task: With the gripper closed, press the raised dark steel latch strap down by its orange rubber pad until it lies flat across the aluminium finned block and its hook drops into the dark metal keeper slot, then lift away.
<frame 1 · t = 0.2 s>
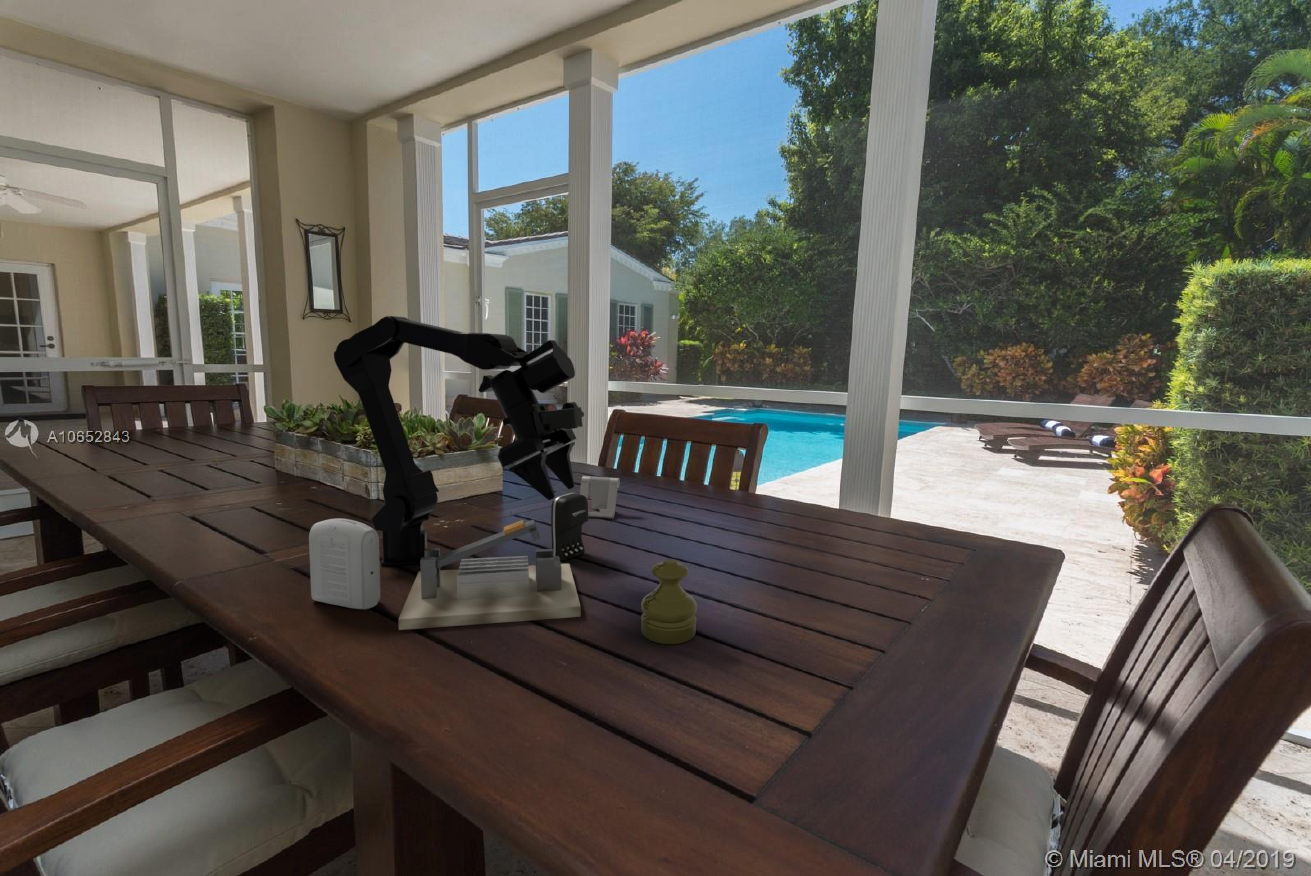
hand: (562, 493, 98), 14 cm above the table, tool tilted 30°, fingers open, 9 cm apart
finned block: (494, 576, 92), on the base board, point 3 cm above the table
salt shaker: (668, 634, 82), on the table
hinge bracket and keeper: (493, 569, 92), on the base board, point 4 cm above the table
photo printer: (346, 603, 89), on the table
base board: (494, 597, 92), on the table
portable electronic device stand: (598, 514, 142), on the table
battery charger: (570, 557, 112), on the table
latch strap: (482, 547, 91), point 8 cm above the table, hinge at 20.0°
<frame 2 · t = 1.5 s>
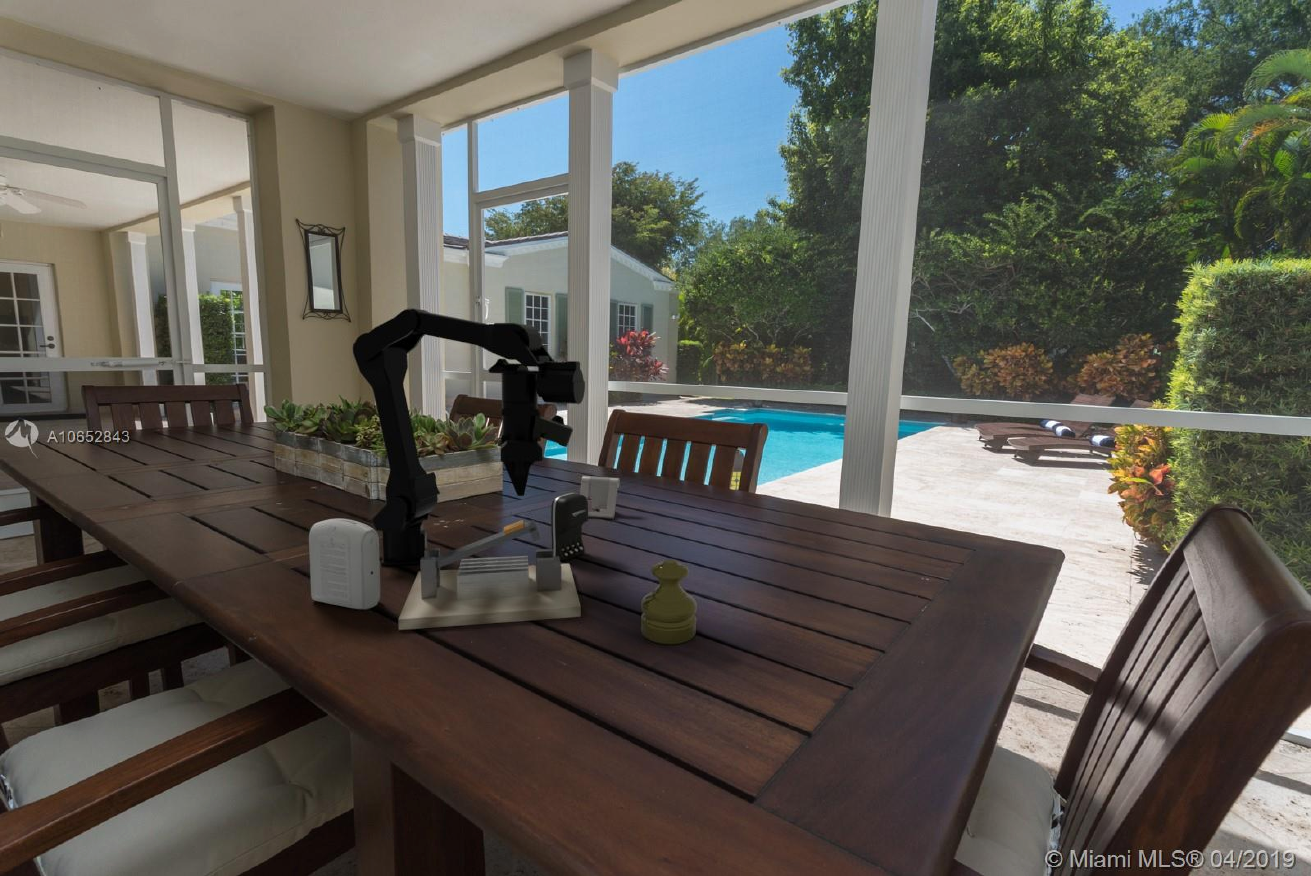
hand: (520, 495, 102), 13 cm above the table, tool pointing down, fingers closed
nothing on the table moved.
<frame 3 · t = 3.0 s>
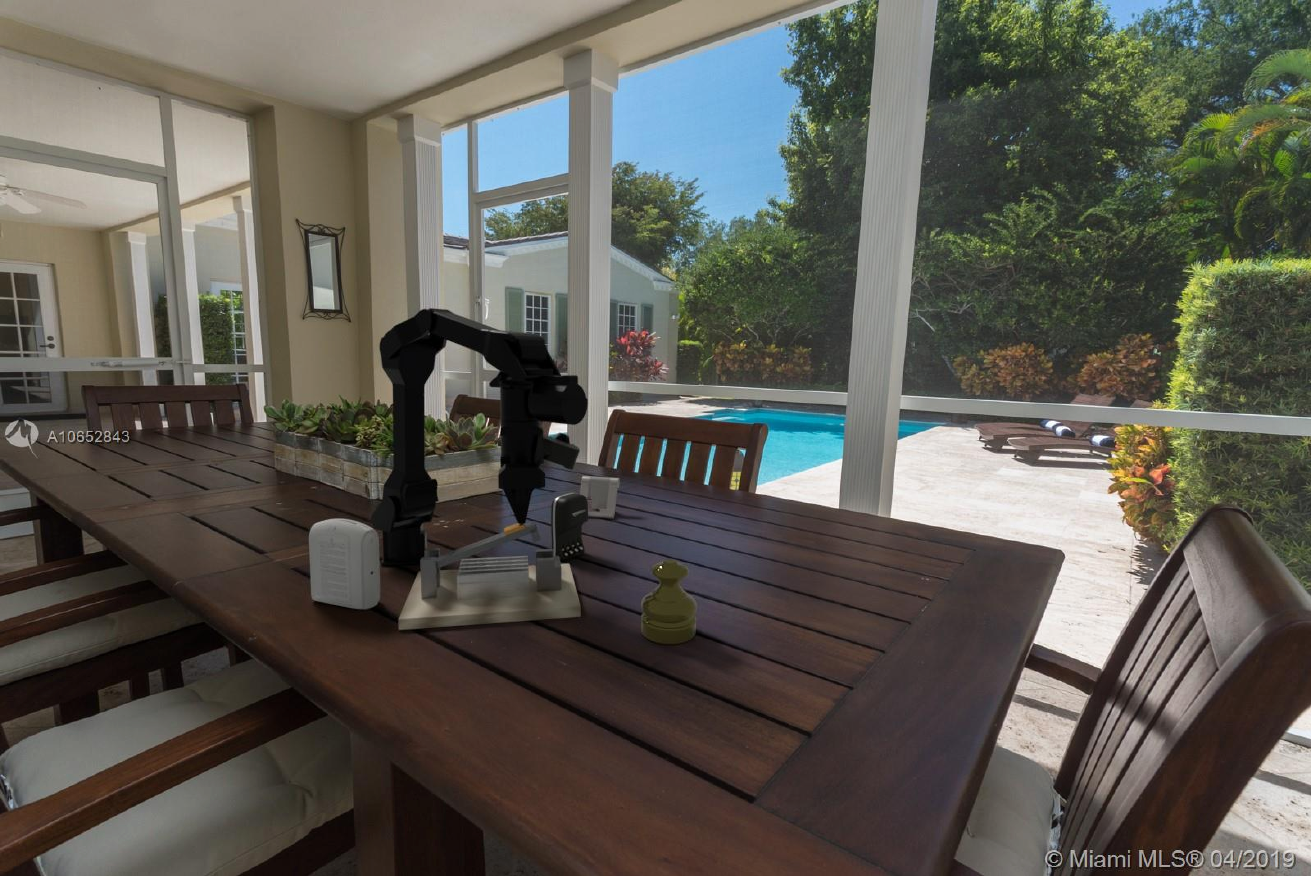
hand: (521, 523, 92), 11 cm above the table, tool pointing down, fingers closed, pressing on latch strap
latch strap: (482, 548, 91), point 8 cm above the table, hinge at 19.2°, touching gripper
everything else where it was.
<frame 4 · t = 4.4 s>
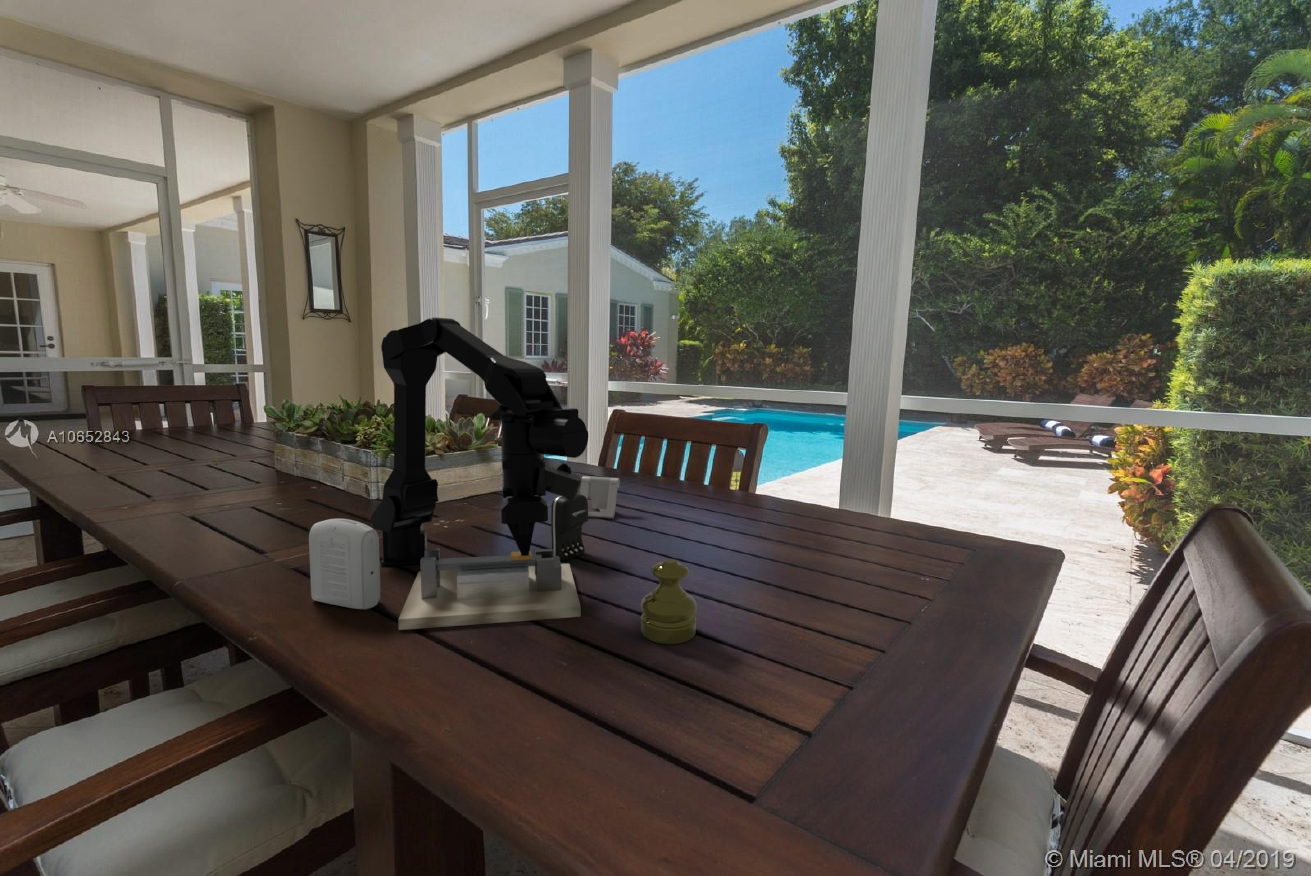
hand: (525, 554, 92), 7 cm above the table, tool pointing down, fingers closed, pressing on latch strap
latch strap: (485, 565, 91), point 5 cm above the table, hinge at -0.3°, touching gripper
everything else where it was.
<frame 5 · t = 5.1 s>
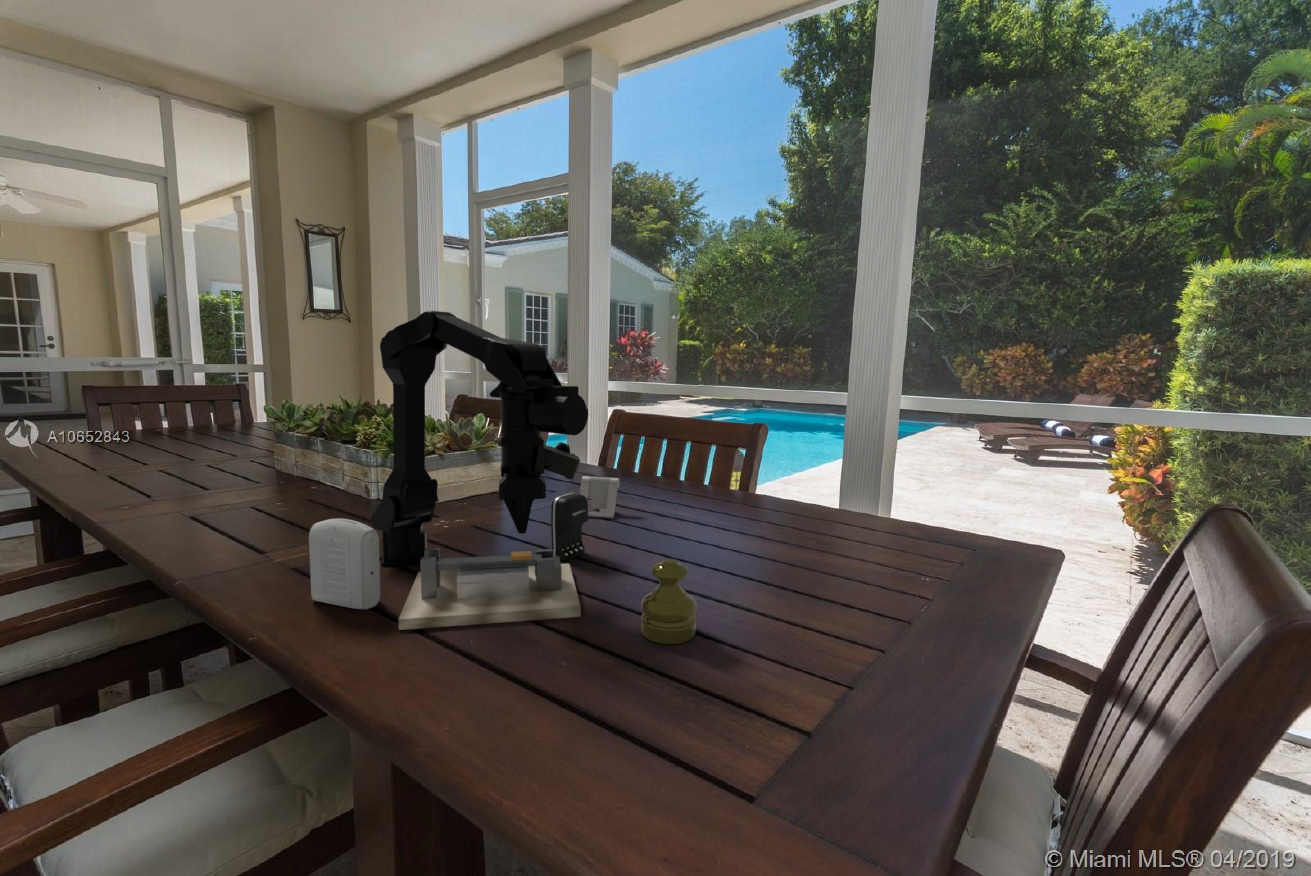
hand: (522, 532, 92), 10 cm above the table, tool pointing down, fingers closed
latch strap: (485, 565, 91), point 5 cm above the table, hinge at -0.3°
everything else where it was.
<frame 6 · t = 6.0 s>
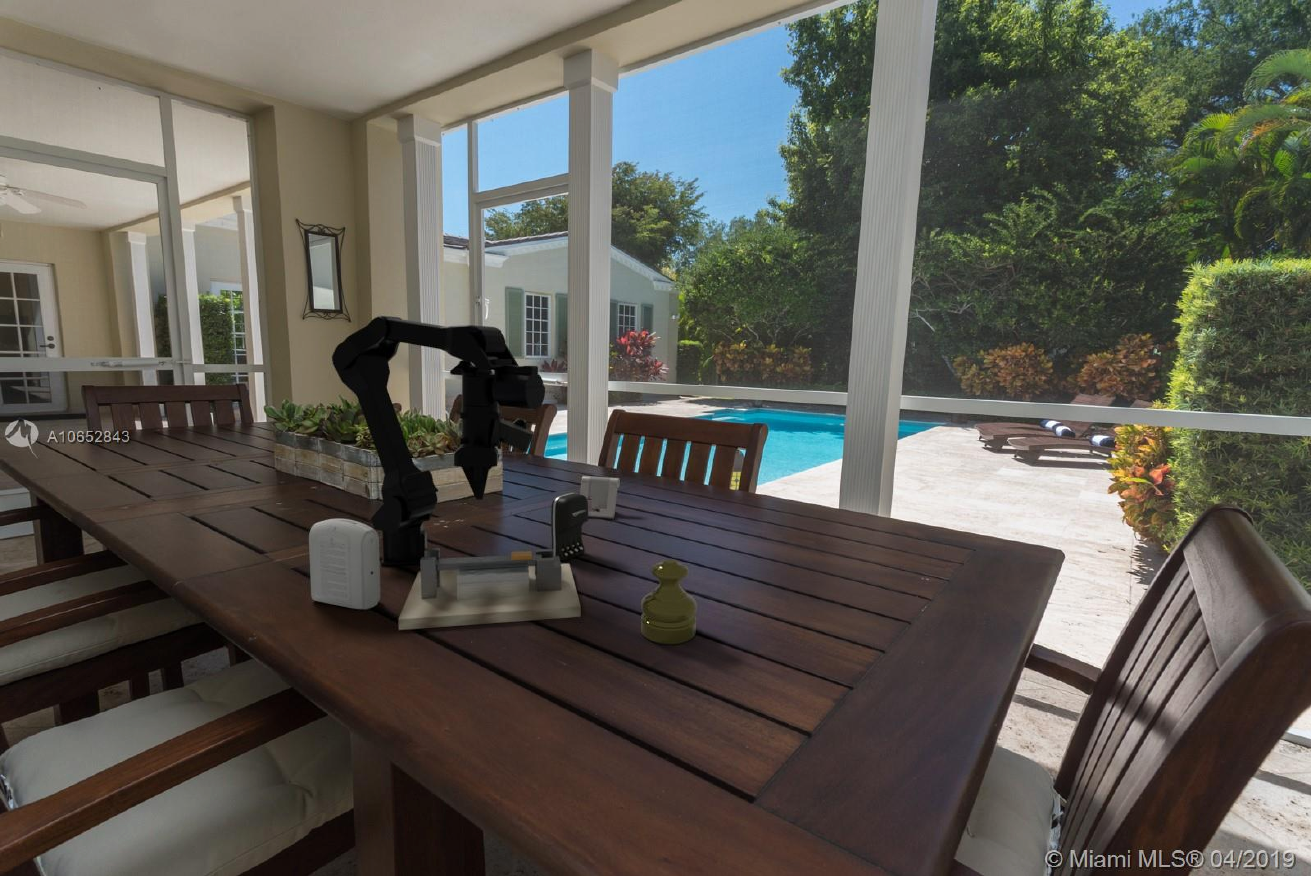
hand: (479, 499, 101), 13 cm above the table, tool pointing down, fingers closed
nothing on the table moved.
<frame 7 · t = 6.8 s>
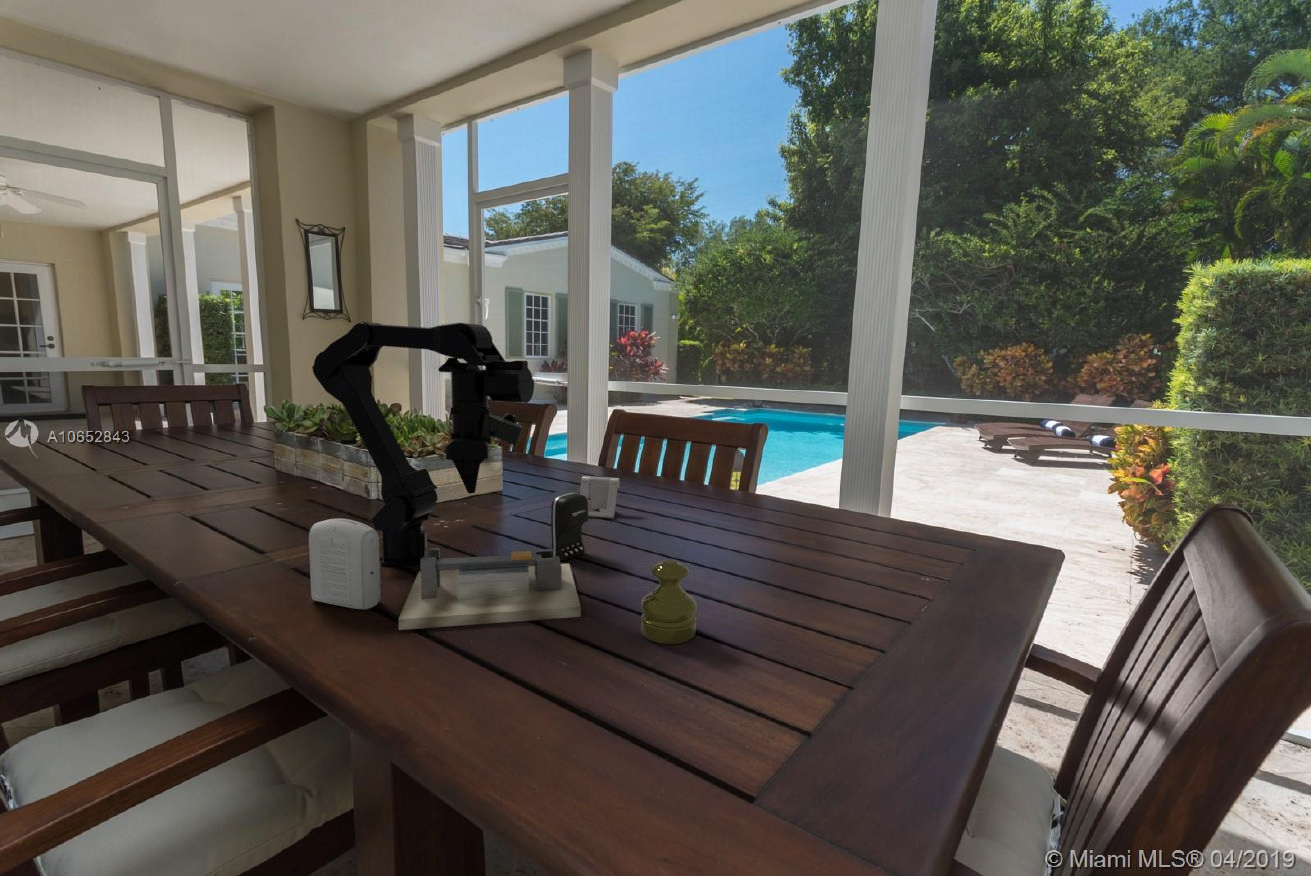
hand: (471, 493, 103), 13 cm above the table, tool pointing down, fingers closed
nothing on the table moved.
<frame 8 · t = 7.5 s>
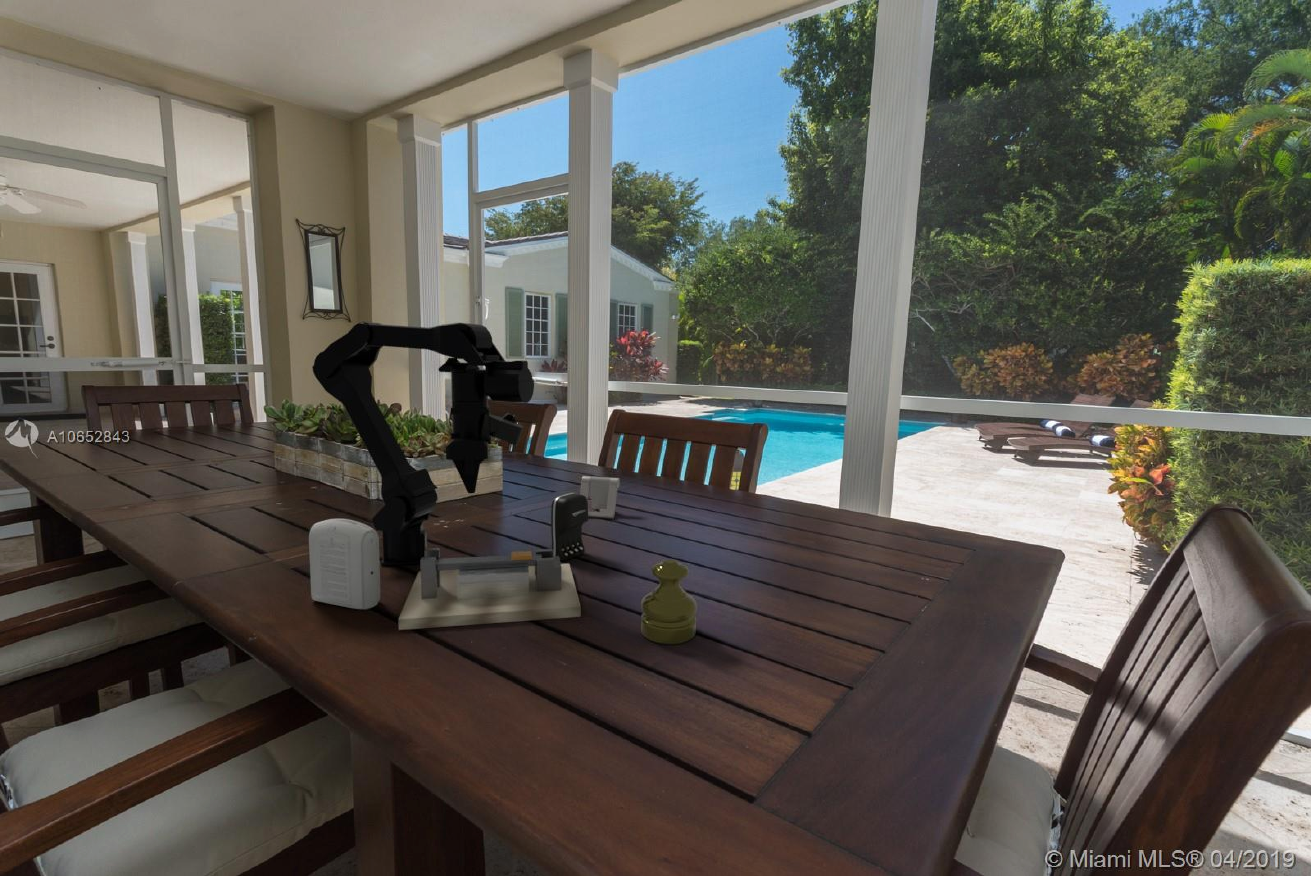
hand: (471, 493, 103), 13 cm above the table, tool pointing down, fingers closed
nothing on the table moved.
at the end: latch strap at +0° (first picture: +20°) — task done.
